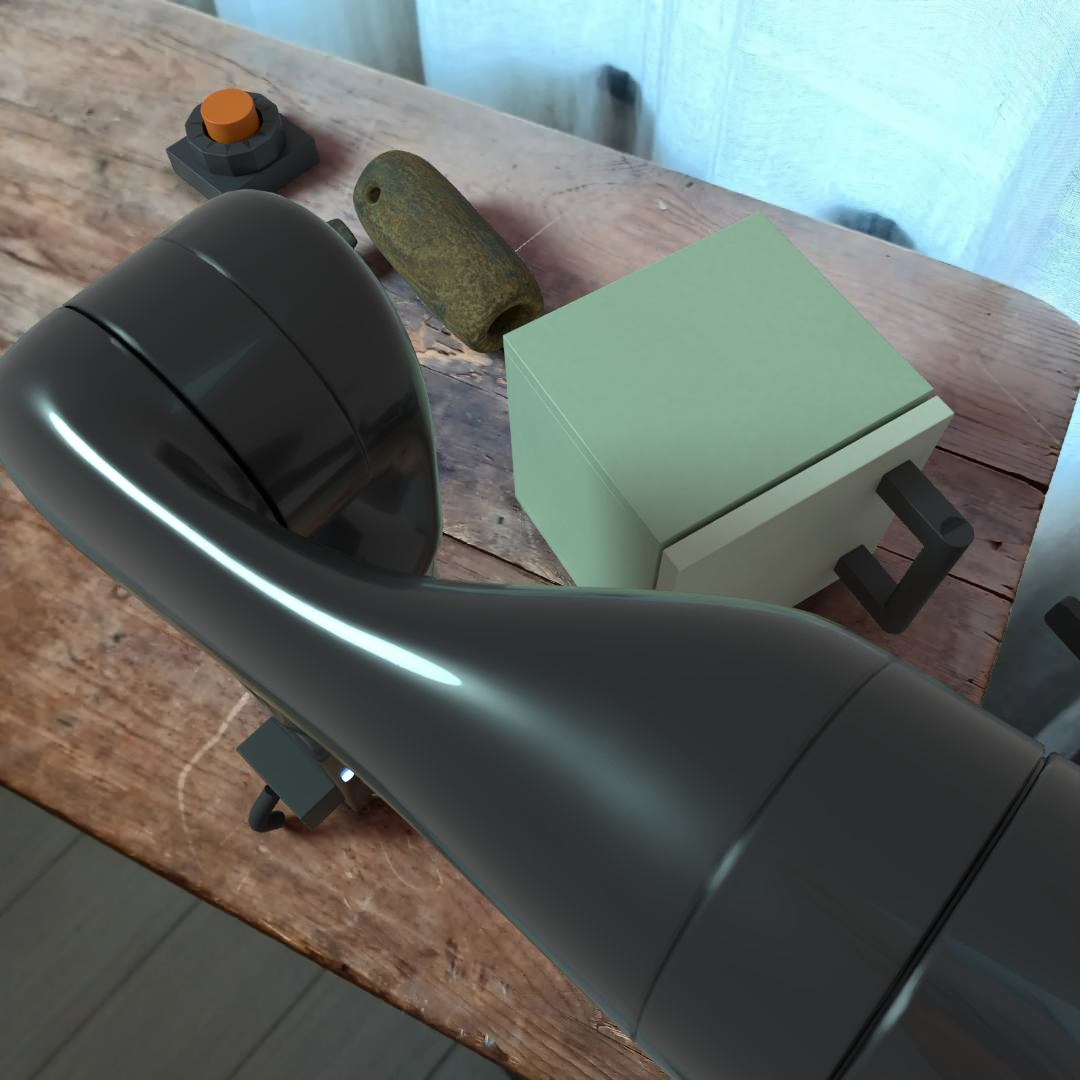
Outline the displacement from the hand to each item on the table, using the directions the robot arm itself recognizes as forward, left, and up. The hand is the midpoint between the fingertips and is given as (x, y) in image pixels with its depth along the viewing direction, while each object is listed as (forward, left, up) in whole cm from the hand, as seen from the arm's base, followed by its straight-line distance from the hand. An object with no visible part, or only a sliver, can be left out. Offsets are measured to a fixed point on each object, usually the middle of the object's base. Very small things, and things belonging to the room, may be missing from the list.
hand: (987, 649), depth 48 cm
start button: (+1, +59, -4) cm, 59 cm away
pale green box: (0, +17, -8) cm, 19 cm away
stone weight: (+3, +40, -8) cm, 41 cm away
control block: (+1, +59, -8) cm, 60 cm away
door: (-3, +8, -8) cm, 11 cm away
